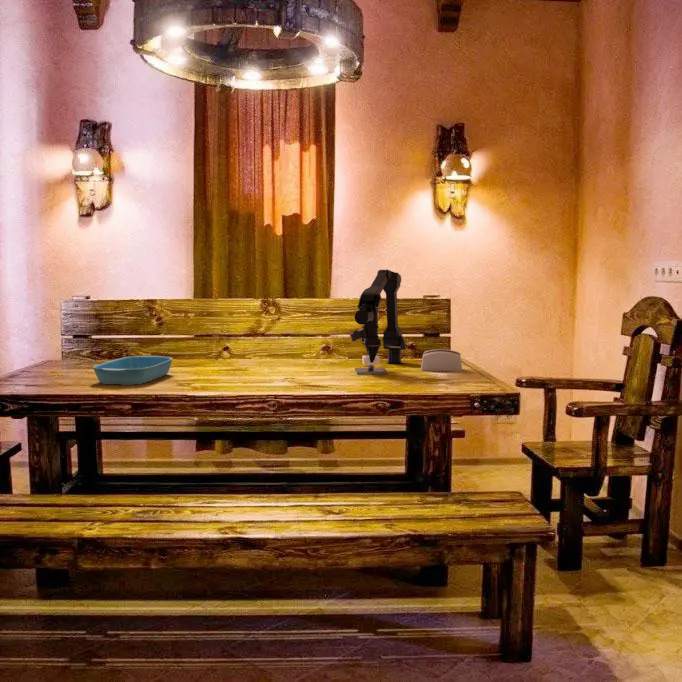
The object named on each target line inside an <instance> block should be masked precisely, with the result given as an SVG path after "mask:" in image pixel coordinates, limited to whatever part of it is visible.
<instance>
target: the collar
mask: <svg viewBox="0 0 682 682" xmlns="http://www.w3.org/2000/svg"><path fill="white" fill-rule="evenodd" d="M361 359H362V360H361V361H362V362H361V363H362V365H363V366H368V365H374V366H379V365H381V362H380V361H381V360H380V359H381V358H380V356H379V355H377V354H376V357H375V359H374V362H373V363H371V362H370V358H369V356H368V355H362V358H361Z"/></svg>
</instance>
